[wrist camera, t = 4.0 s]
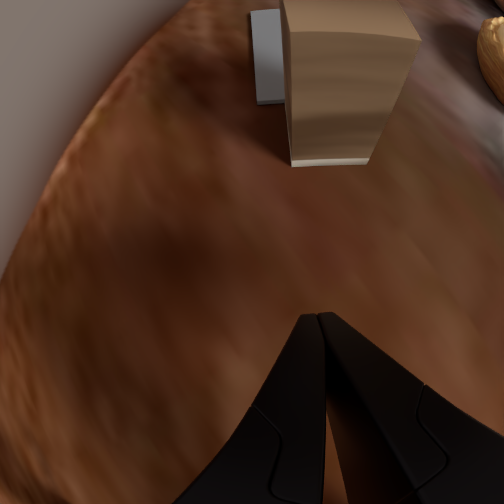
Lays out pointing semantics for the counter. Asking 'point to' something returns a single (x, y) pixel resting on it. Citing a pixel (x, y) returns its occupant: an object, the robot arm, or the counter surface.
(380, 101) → the block
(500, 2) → the ceramic jug
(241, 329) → the counter surface
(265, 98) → the mat
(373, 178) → the counter surface
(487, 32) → the pastry
